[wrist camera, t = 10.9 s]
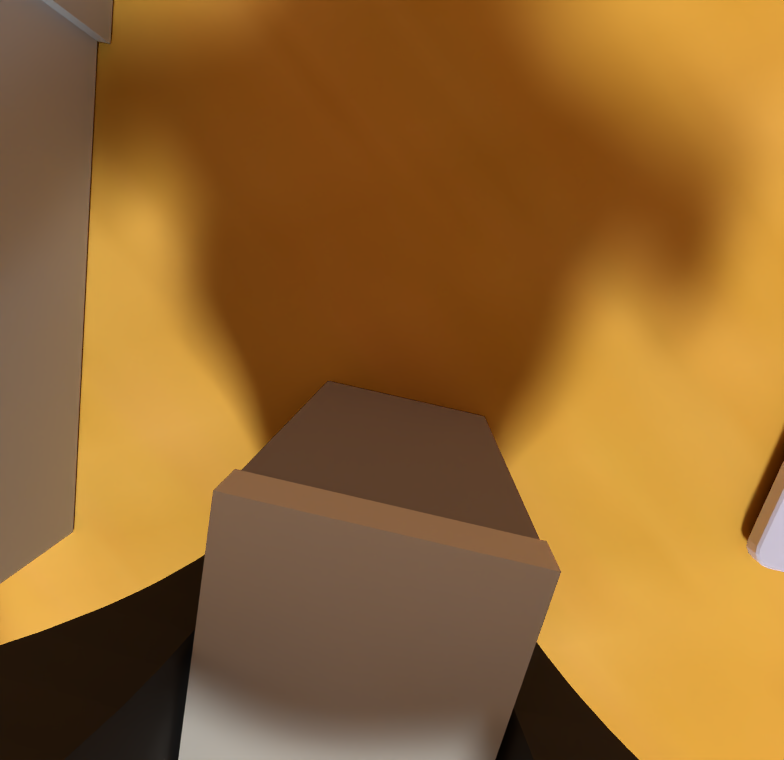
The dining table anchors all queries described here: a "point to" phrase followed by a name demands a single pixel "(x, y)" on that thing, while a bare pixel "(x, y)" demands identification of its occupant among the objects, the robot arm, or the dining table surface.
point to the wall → (43, 261)
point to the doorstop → (366, 590)
